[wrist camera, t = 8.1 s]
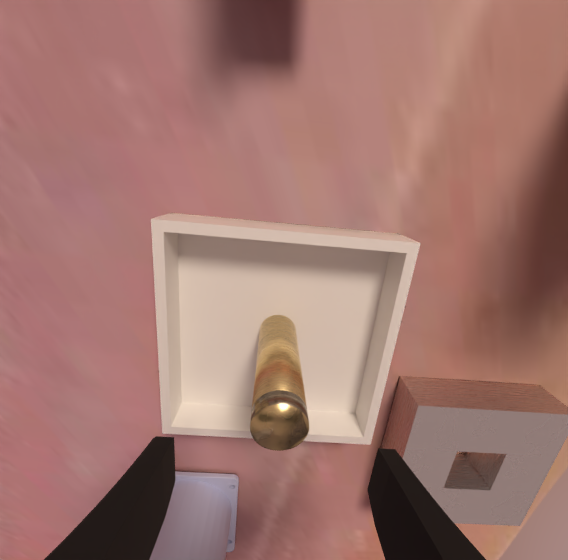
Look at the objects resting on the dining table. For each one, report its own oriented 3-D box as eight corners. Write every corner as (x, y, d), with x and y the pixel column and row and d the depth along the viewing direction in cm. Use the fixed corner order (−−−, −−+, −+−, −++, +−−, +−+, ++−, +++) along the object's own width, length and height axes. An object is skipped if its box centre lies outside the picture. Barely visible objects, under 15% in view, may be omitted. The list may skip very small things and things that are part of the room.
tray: (358, 411, 23) (370, 444, 20) (177, 400, 22) (162, 433, 19) (397, 233, 18) (420, 243, 15) (171, 212, 17) (151, 218, 15)
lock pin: (295, 346, 20) (308, 449, 12) (260, 347, 20) (250, 451, 12) (296, 314, 19) (310, 403, 11) (259, 315, 19) (249, 404, 11)
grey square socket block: (493, 487, 26) (520, 525, 23) (371, 482, 25) (384, 520, 22) (539, 385, 22) (578, 415, 19) (399, 376, 22) (418, 405, 19)
